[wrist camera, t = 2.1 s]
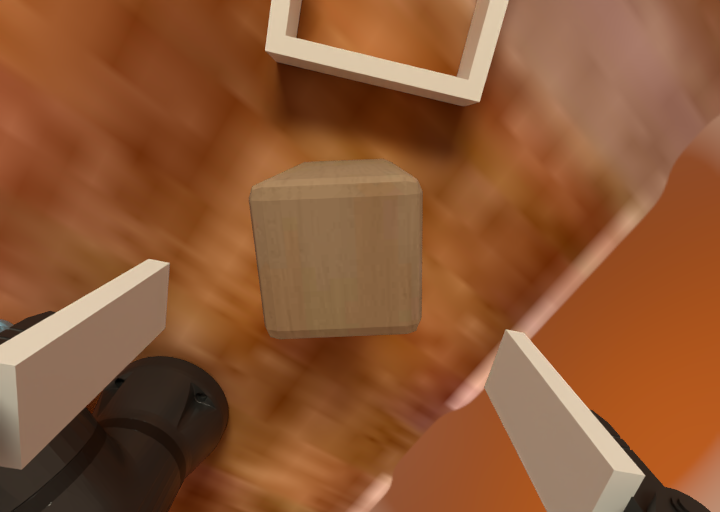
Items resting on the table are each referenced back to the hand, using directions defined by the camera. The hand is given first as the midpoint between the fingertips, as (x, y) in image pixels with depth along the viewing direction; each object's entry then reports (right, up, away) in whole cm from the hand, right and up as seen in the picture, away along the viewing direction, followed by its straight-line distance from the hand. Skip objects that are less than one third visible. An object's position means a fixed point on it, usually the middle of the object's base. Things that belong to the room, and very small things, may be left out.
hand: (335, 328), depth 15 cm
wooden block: (0, +8, +27) cm, 28 cm away
